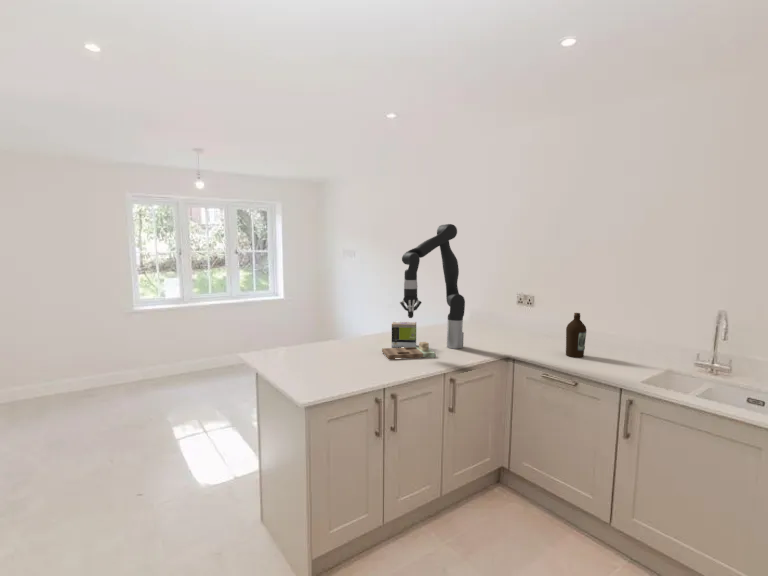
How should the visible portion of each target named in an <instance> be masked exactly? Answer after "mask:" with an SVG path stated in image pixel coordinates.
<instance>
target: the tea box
mask: <svg viewBox="0 0 768 576" xmlns="http://www.w3.org/2000/svg"><path fill="white" fill-rule="evenodd" d="M398 347H417V321H392V323H391V348H398Z"/></svg>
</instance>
